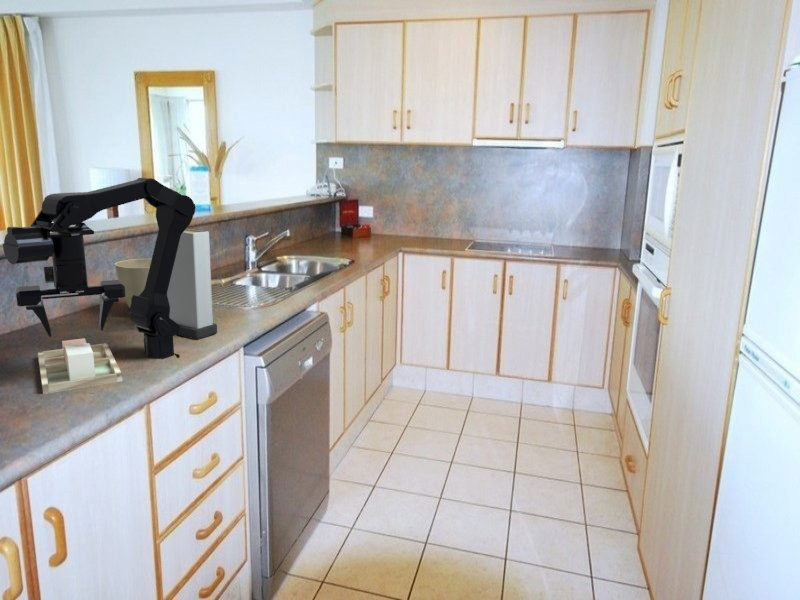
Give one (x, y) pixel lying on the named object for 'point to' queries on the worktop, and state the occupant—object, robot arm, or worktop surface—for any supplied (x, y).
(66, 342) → the terracotta block
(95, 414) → the worktop surface
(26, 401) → the worktop surface
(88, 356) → the block
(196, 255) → the container
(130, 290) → the plant pot
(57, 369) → the slot cradle
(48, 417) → the worktop surface
